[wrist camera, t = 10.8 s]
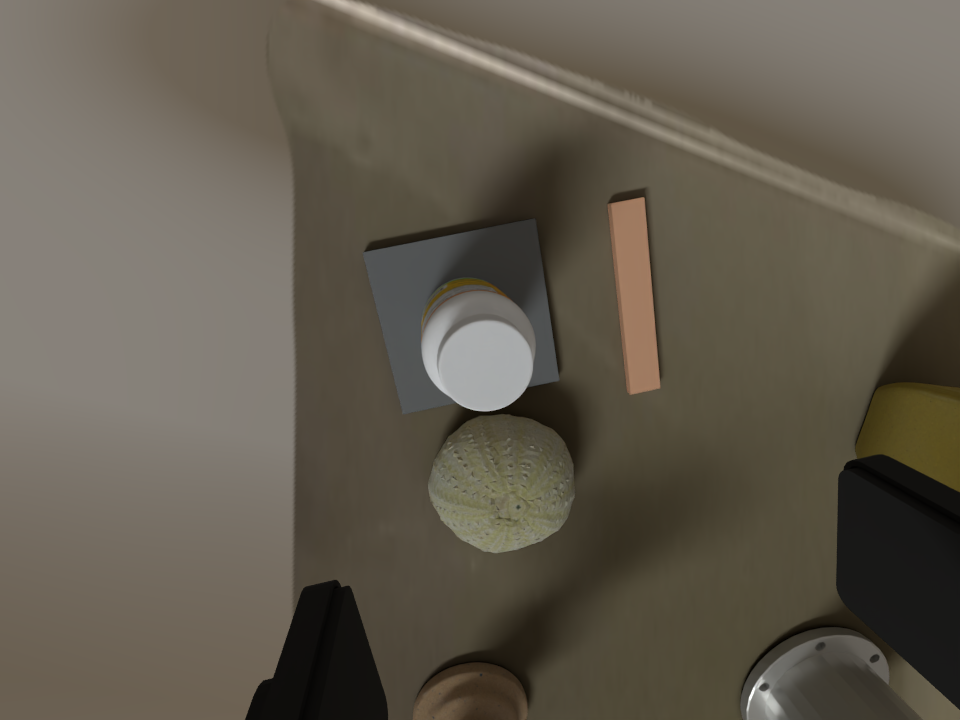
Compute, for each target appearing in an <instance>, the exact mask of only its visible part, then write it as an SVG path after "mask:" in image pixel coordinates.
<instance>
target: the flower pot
mask: <svg viewBox="0 0 960 720" xmlns="http://www.w3.org/2000/svg"><path fill="white" fill-rule="evenodd" d="M855 452H856V455H857V459H859V458H864V457H868V456H872V455H877V454H883V455H886V456H889V457H891V458H893V459H895V460H897V461H899V462H901V463H903V464H905V465H907V466H909V467H911V468H913V469H915V470H917V471H919V472H921V473H923V474H925V475H927V476H929V477H931V478H933V479H935V480H937V481H939V482H941V483H942V484H944V485H946V486H948V487H950V488H952V489H954V490H956V491H958V492H960V388H958V387H949V386H940V385H932V384H924V383H914V382H899V383H892V384H887V385H884V386H880V387H878V388H877V389H876V391H875V393H874V395H873V398H872V401H871V404H870V407H869V410H868V413H867V416H866V418H865V421H864V424H863V427H862V429H861V432H860V435H859V438H858V440H857V443H856V447H855Z"/></svg>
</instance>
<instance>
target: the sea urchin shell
mask: <svg viewBox="0 0 960 720" xmlns="http://www.w3.org/2000/svg"><path fill="white" fill-rule="evenodd" d="M573 467H574V464H573V463H572V458H571V457H570V453H569V452H568V449H567V447H566V444H565V442H564V441H563V440H562V438H561V437H560V436H559V435H558V434H557V433H556V432H555V431H554V430H553V429H552V428H549V427H547V426H544V425H542V424H540V423H539V422H537V421H534V420H533V419H532V418H531V419H529V418H526V417H525V418H524V417H516V416H511V415H510V414H507V415H505V414H500V415H492V416H487V415H485V416H479V417H477V418H474V419H471V420H470V421H467V422H466V423H464V424H463V425H462V426H461V427H460V428H459V429H458V430H457V431H455V432H454V433H453V434H452V435H450V436H448V438H447V440H446V441H445V443H444V445H443V446H442V448H441V450H440V452H439V453H438V455H437V457H436V458H435V460H434V463H433V468H432V472H431V475H430V478H429V483H428V488H429V494H430V497H429V498H430V501H431V503H433V506H434V507H435V509H436V510H437V512H438V514H439V515H440V517H441V521H443V523H445V524H446V525H447V526H448V527H450V528H451V529H452V530H453V531H454V532H455V533H456V536H457V537H460V539H461V540H463V541H465V542H468V543H470V544H471V545H473V546H475V547H477V548H479V549H482V551H488V552H493V553H500V552H505V551H512V550H519V549H520V548H523V547H526V546H528V545H530V544H534V543H536V542H541V541H542V540H543V539H545V538H547V537H548V536H550V535H551V534H553V533H554V532H556V531H558V530H559V529H560V528H561V526H562V525H563V524H564V522H565V521H566V519H568V515H569V513H570V510H571V506H572V502H573V499H574V497H575V485H574V469H573Z"/></svg>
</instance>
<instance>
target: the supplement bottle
mask: <svg viewBox="0 0 960 720" xmlns="http://www.w3.org/2000/svg"><path fill="white" fill-rule="evenodd" d="M421 349H422V358H423V363H424V366H425V369H426V371H427V373H428V375H429V377H430V379H431V380H432V381H433V383H434V384H435V385H436V386H437V387H438V388H439V389H440V390H441V391H442V392H443V393H445V394H446V395H448V396H449V397H451V398H452V399H453V400H454V401H455V402H457V403H458V404H460V405H461V406H463V407H466V408H468V409H471V410H476V411H493V410H498V409H501V408H504V407H506V406H508V405H510V404H511V403H513V402H514V401H515V400H516V399H518V398H519V397H520V396H521V395H522V393H523V392H524V391H525V389H526V388H527V386H528V384H529V382H530V380H531V377H532V373H533V362H534V358H535V351H536V341H535V335H534V331H533V328H532V325H531V323H530V321H529V319H528V318H527V316H526V315H525V313H524V312H523V311H522V310H521V308H520V307H519V306H518V305H517V304H515V303H514V302H513V301H512V300H511V299H510V298H509V297H507V296H506V295H505V294H504V293H503V292H502V291H500V290H499V289H498V288H497V287H495V286H494V285H492V284H491V283H489V282H487V281H484V280H481V279H477V278H458V279H454V280H451V281H449V282H447V283H445V284H444V285H442V286H440V287H439V288H438V289H437V290H436V291H435V292H434V293H433V294H432V295H431V296H430V298H429V299H428V301H427V303H426V305H425V308H424V311H423V314H422V322H421Z"/></svg>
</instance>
